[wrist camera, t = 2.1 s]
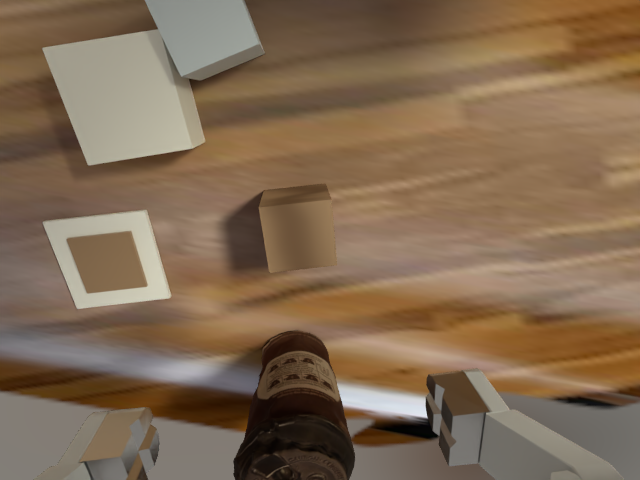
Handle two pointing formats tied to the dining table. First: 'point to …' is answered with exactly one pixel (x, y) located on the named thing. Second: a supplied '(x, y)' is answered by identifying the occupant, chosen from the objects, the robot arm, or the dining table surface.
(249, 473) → the coffee cup
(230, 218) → the dining table surface
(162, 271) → the tile
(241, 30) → the grey cube
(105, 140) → the plinth block
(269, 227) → the walnut cube
